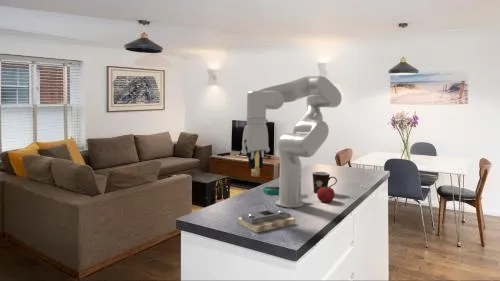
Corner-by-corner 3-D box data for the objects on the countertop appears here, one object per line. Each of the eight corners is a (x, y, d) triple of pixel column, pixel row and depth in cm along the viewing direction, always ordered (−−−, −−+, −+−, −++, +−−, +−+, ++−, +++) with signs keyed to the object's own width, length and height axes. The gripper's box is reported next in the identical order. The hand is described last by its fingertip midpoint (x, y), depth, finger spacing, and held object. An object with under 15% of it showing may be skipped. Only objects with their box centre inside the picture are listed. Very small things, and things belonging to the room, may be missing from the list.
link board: (275, 215, 150) (275, 210, 150) (295, 223, 140) (295, 218, 140) (237, 223, 140) (237, 218, 139) (256, 232, 130) (256, 227, 130)
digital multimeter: (294, 194, 188) (295, 188, 188) (267, 195, 183) (267, 189, 183) (288, 190, 195) (289, 185, 195) (262, 192, 190) (262, 186, 190)
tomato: (314, 199, 176) (314, 184, 175) (329, 198, 178) (329, 183, 178) (323, 204, 168) (323, 188, 167) (338, 203, 171) (339, 187, 170)
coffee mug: (308, 192, 190) (308, 173, 189) (318, 189, 196) (319, 171, 195) (327, 196, 181) (327, 176, 180) (337, 194, 187) (338, 174, 186)
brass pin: (256, 174, 152) (256, 150, 151) (260, 175, 149) (261, 151, 148) (249, 175, 150) (250, 150, 149) (254, 176, 148) (254, 151, 146)
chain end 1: (269, 214, 144) (269, 207, 144) (280, 219, 139) (280, 212, 139) (241, 219, 137) (241, 213, 137) (251, 224, 132) (252, 217, 132)
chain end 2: (279, 212, 147) (279, 208, 147) (290, 216, 142) (290, 212, 142) (253, 217, 140) (253, 213, 140) (263, 222, 135) (263, 218, 135)
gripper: (267, 121, 155) (266, 165, 157) (233, 122, 146) (233, 168, 148) (278, 122, 149) (277, 167, 151) (244, 123, 140) (243, 171, 142)
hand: (255, 167), depth 149 cm, fingers closed on brass pin, 3 cm apart
